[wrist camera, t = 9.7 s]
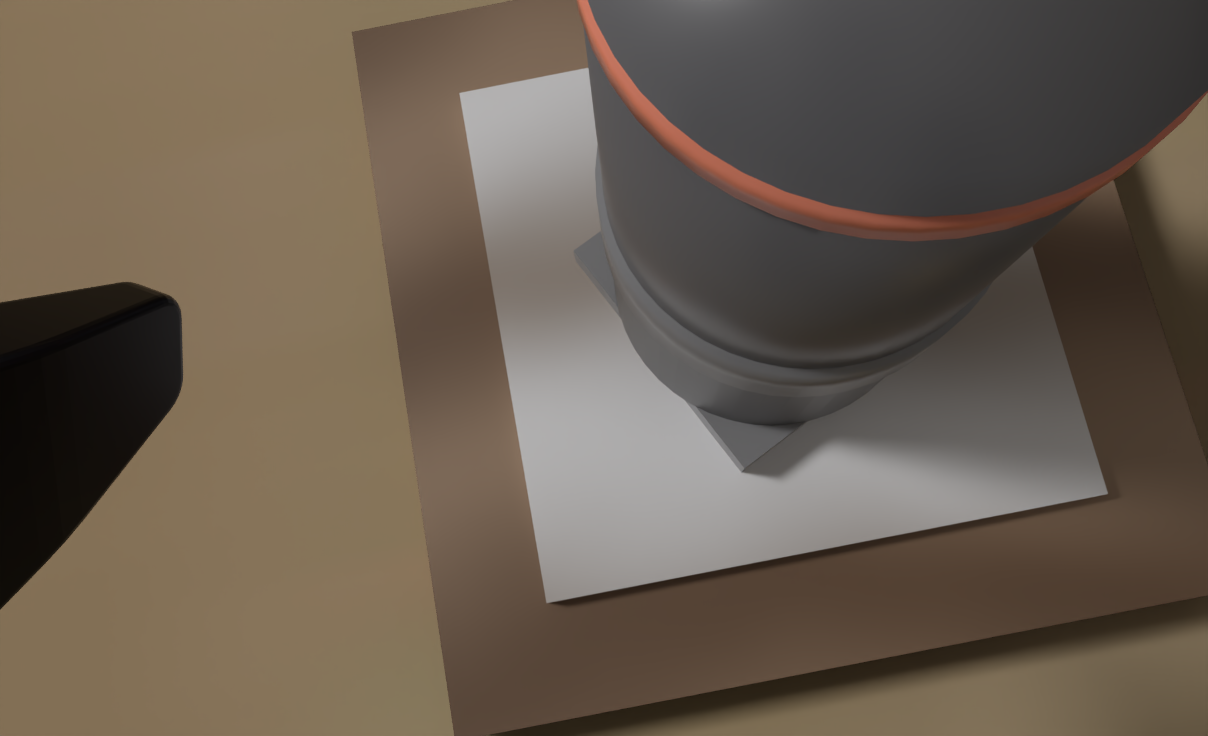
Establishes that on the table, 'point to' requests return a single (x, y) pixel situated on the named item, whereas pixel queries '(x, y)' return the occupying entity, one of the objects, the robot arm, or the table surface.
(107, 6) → the table surface
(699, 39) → the grey tall rounded piece
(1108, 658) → the table surface
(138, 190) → the table surface
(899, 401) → the mount board
